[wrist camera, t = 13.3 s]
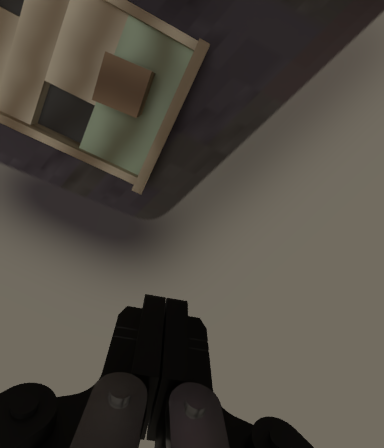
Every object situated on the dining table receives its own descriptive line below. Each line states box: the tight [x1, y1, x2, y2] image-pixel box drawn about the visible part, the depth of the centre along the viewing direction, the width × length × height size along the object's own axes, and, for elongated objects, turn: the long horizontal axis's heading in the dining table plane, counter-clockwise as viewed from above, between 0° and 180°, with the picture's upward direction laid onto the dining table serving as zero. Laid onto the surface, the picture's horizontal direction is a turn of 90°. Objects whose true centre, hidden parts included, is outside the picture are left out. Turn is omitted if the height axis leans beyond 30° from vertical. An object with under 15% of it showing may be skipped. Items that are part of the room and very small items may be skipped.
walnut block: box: [92, 51, 155, 118], centre depth 30 cm, size 4×4×4 cm
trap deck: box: [0, 0, 210, 194], centre depth 30 cm, size 27×15×5 cm, turn 64°
